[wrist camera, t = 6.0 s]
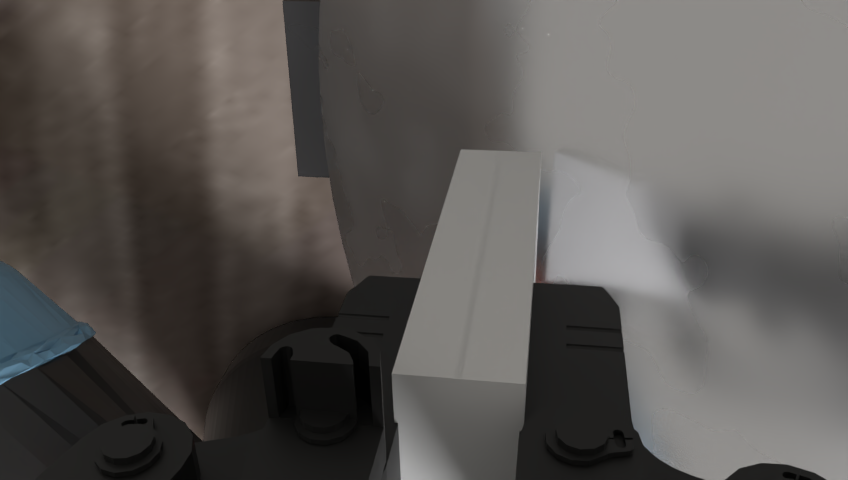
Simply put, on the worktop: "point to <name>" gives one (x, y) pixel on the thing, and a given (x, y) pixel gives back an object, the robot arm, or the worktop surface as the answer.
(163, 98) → the worktop surface
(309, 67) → the pressure cooker pot
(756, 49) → the pot lid
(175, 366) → the worktop surface
